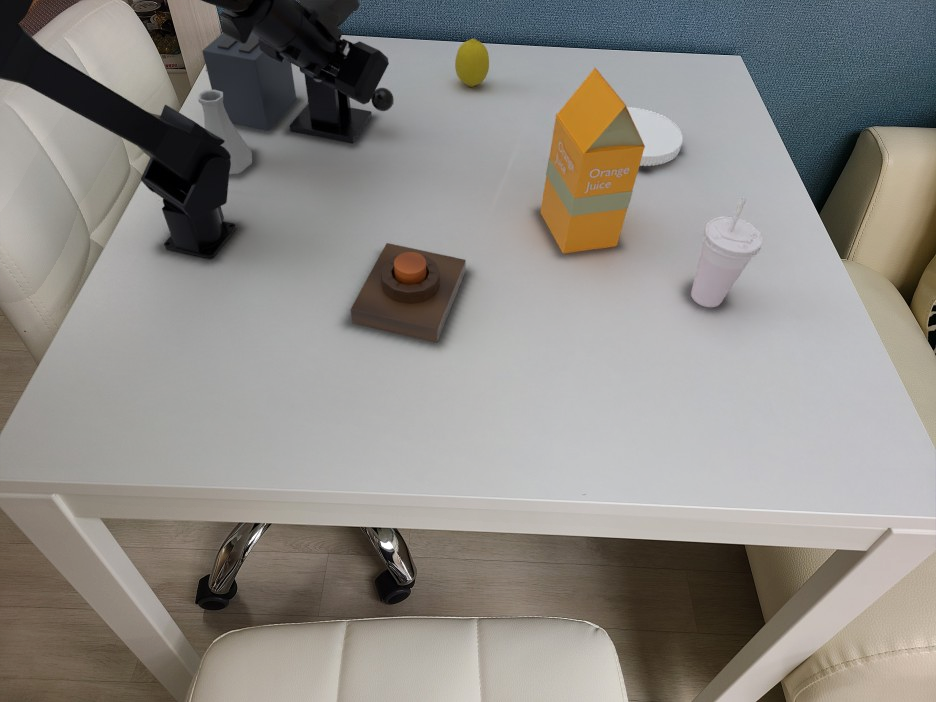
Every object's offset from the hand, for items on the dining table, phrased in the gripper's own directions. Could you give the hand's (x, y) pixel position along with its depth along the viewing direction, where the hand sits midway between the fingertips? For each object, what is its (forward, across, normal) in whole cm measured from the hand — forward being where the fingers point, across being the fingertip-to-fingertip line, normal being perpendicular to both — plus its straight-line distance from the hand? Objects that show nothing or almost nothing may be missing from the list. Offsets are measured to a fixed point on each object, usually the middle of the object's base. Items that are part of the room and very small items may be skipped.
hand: (358, 82), depth 91 cm
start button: (-8, -26, +17) cm, 33 cm away
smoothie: (+12, -53, +3) cm, 54 cm away
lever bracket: (+8, +8, +6) cm, 13 cm away
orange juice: (+12, -34, +3) cm, 36 cm away
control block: (-6, -26, +20) cm, 34 cm away
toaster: (+4, +19, +10) cm, 22 cm away
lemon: (+25, +1, -11) cm, 28 cm away
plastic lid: (+28, -29, -14) cm, 42 cm away
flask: (-4, +11, +18) cm, 22 cm away
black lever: (+5, +5, +1) cm, 7 cm away
